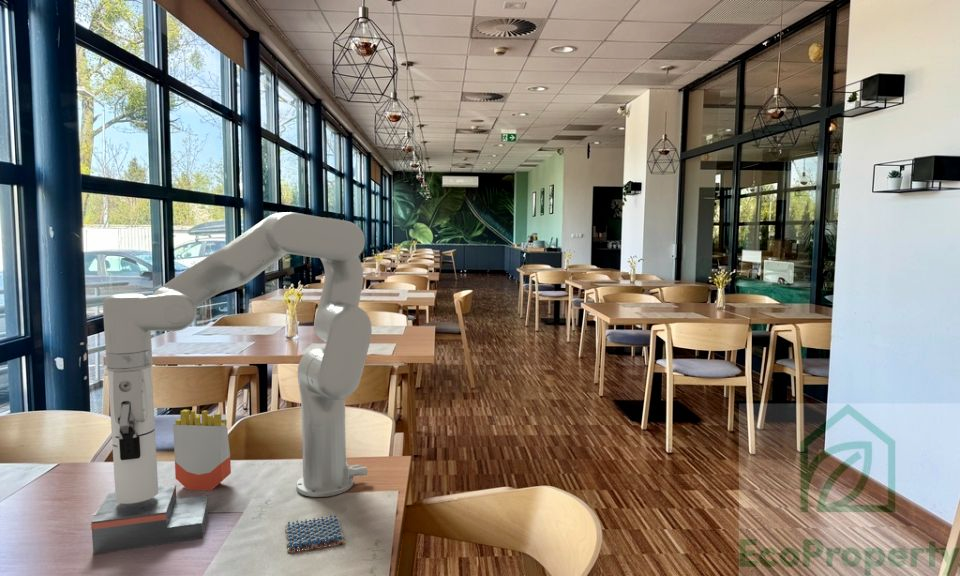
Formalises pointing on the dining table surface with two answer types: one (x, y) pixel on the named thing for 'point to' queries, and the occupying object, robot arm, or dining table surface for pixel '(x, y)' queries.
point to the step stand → (148, 521)
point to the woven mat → (314, 533)
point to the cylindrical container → (140, 474)
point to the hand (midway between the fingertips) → (134, 450)
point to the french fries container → (201, 450)
